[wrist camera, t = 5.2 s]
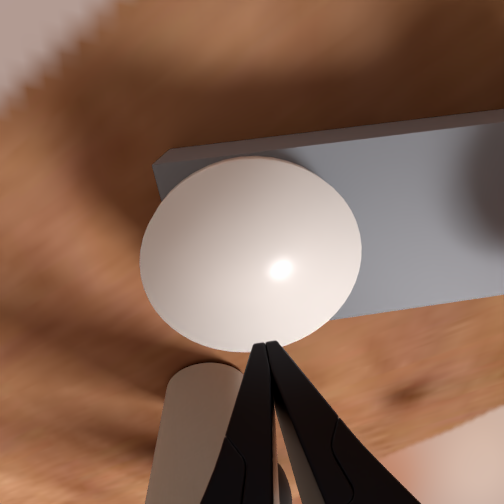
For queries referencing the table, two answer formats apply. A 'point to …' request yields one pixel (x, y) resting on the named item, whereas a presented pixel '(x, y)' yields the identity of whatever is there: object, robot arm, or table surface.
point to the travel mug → (192, 432)
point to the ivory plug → (250, 254)
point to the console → (398, 202)
